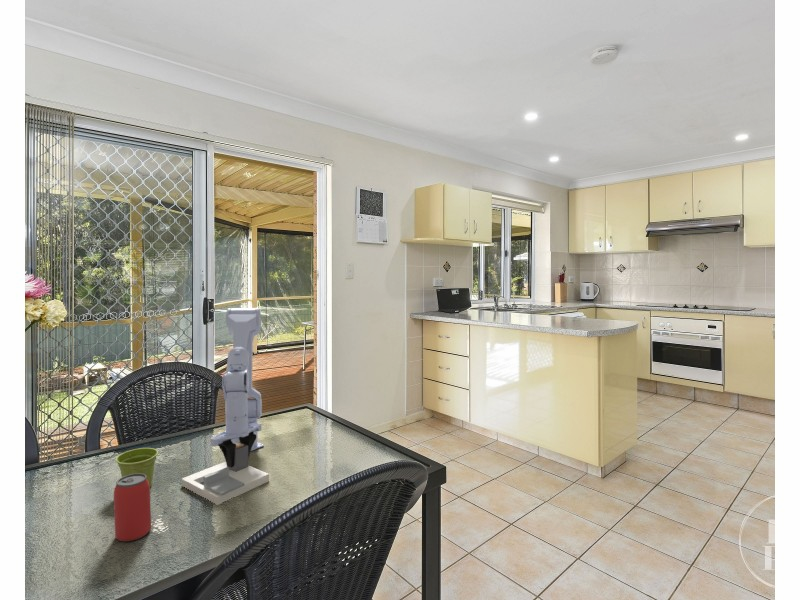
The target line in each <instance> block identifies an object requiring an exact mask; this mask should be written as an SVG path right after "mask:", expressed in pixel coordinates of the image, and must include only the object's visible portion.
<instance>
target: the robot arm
mask: <svg viewBox="0 0 800 600" xmlns="http://www.w3.org/2000/svg"><path fill="white" fill-rule="evenodd" d="M225 313H226V314H225V321H226V322H225V323H226V327H227V331H228V332H229V334H230V335H232V336H233V337H232V339H233V343H232V349H230V350H229V351H228V354H227V360H226V361H227V362H226V368H225V369H226V370H225V373H223V375H222V380H221V386H222V387H221V389H222V391H223V392H222V393H223V400H224V403H225V404H224V407H225V409H224V411H225V413H224V414H225V430H224V431H222V432H221V433H219V434H217V435H215V436H212V437H210V446H212V447H215V448H216V447H218V448H219V449H220V450H221V453H222V455H223V456H224V460H225V462H226V464H227V466H228V467H231V468H232V467H234V452H235V447H236V444H235V443H238V442H241V443H243V444H246V445H248V460H250V459H249V458H250V454H251V452H252V451H255V450H257V449H260V448H262V447H264V446H265V445H264V444H263V443H261V442H259V437H258V436H259V435H258V434H259V433H258V432H261V431H262V423H259V422H258V419H260V418H261V417H262V415H263V413H262V412H263V404H262V403H263V401H262V394H261V392H260V391H258V390H256V388H254V387H253V348H254V346H253V343H254V339H255V336H257V335H260V334H261V325H262V324H261V323H262V320H261V318H262V315H261V313H262V312H261V309H260V308H259V307H247V308H246V307H243V308H240V307H239V308H238V307H234V308H233V307H229V308H227V310H226V312H225Z"/></svg>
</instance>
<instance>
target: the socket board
mask: <svg viewBox="0 0 800 600" xmlns="http://www.w3.org/2000/svg"><path fill="white" fill-rule="evenodd" d="M226 467H227V464H226V461H224V462H221V463H218V464H215V465H213V466H211V467H208V468H205V469H202V470H201V471H197V472H195V473H192V474H190V475H188V476H185V477H182V478H181V487H182V488H184V487H185V489H186V488H187V490H188V489H189V491H190V490H191V491H190V492H192V491H193V492H192V493H194V494H195V493H196V495H197V494H199V495H200V496H199V495H198V496H199V497H201V496H202V497H201V498H203V497H204V498H203V499H205V498H206V499H205V500H207V499H208V500H209V501H208V500H207V501H208V502H210V501H211V502H210V503H212V502H213V503H212V504H214V503H215V504H214V505H215V506H216V505H217V506H219V505H221V504H223V503H222V502H224V501H226V500H228V501H230V500H232V499H234V498H236V497H238V496H240V495H242V494H245V493H247V492H249V491H251V490H253V489H256V488H258V487H259V486H262V485H264V484H266V483H268V482H269V481H270V474H269V473H268V472H265V471H262V470H260V469H258V468H255V467H253V466H251V465H249V467H246V468H244V469H242V470H239V471H237V472H235V471H232V470H230V469H229V476H230V477H232V478H234V479H236V480H238V481H241V482H243V483H244V486H242V487H240V488H238V489H236V490H233V491H231V492H229V493H227V494H225V495H222V496H220V495H218V494H216V493H214V492H212V491H211V490H209V489H207V488H205V487H204V476H206V475H209V474H211V473H214V472H216V471H219V470H221V469H224V468H226ZM233 497H234V498H233ZM231 498H232V499H231ZM229 499H230V500H229ZM226 502H227V501H226ZM220 503H221V504H220ZM224 503H225V502H224ZM218 504H219V505H218Z"/></svg>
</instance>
